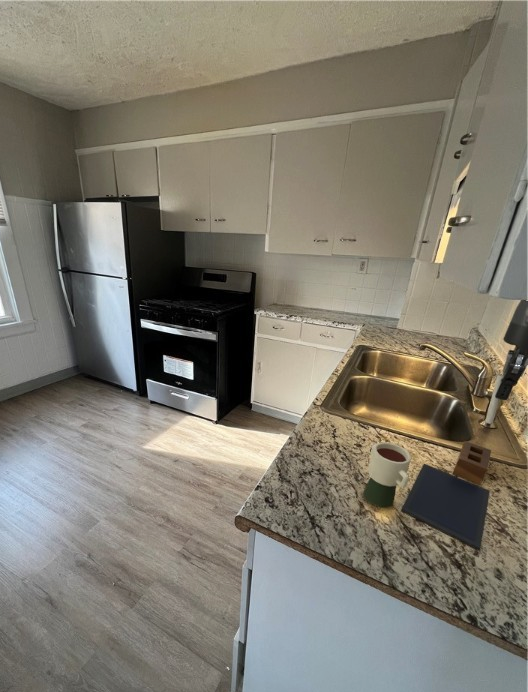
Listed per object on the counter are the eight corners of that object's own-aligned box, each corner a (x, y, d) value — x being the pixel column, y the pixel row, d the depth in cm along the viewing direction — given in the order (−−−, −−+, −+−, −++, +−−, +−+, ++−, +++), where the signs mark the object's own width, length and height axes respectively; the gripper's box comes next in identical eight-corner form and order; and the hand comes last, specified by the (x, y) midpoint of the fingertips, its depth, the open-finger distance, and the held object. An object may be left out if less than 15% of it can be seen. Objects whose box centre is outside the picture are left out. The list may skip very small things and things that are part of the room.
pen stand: (458, 455, 85) (464, 440, 83) (484, 465, 82) (491, 450, 80) (452, 474, 78) (458, 458, 76) (479, 485, 75) (487, 469, 73)
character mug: (408, 515, 66) (426, 467, 60) (379, 521, 64) (395, 472, 59) (376, 479, 75) (389, 435, 70) (350, 484, 74) (361, 438, 68)
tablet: (423, 465, 81) (423, 463, 81) (488, 492, 73) (490, 490, 73) (400, 511, 67) (401, 508, 67) (479, 551, 59) (480, 547, 59)
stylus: (484, 424, 76) (497, 373, 71) (491, 425, 75) (505, 374, 71) (484, 426, 75) (497, 375, 70) (491, 428, 74) (505, 376, 70)
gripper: (561, 333, 57) (521, 414, 65) (556, 320, 67) (522, 392, 74) (510, 324, 62) (477, 402, 69) (512, 314, 71) (483, 383, 79)
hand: (500, 397), depth 72 cm, fingers closed on stylus, 1 cm apart
